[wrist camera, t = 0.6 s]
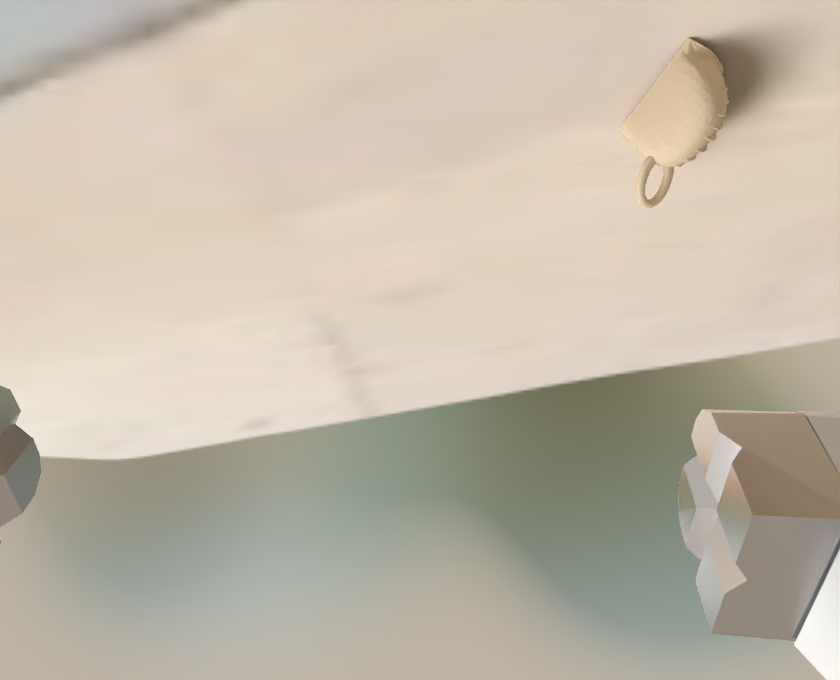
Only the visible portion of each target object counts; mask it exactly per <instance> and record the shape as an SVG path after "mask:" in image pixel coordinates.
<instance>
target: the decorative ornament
mask: <svg viewBox="0 0 840 680" xmlns="http://www.w3.org/2000/svg"><path fill="white" fill-rule="evenodd" d="M723 72H724V67H723V65H722V64H721V63H720V61H719V59H718V57H717V56H716V55H715V54H714V53H713V52H712V51H711V50H710V49H708V48H706V47H705V46H703V45H702V44H700V43H698V42H697V41H695V40H692V39H690V38H688V39H687V40H686V41H685V43H684V44H683V45H682V47H681V48H680V49H679V51H678V52H677V53H676V55H675V56H674V57H673V59H672V60H671V62H670V63H669V64H668V66H667V67H666V69H665V70H664V71H663V73H662V74H661V76H660V77H659V78H658V80H657V81H656V83H655V84H654V85H653V87H652V88H651V90H650V91H649V92H648V94H647V95H646V96H645V97H644V99H643V100H642V101H641V103H640V104H639V105H638V106H637V108H636V109H635V110H634V111H633V112H632V114H631V115H630V116H629V117H628V118H627V119H626V121H625V122H624V123H623V124H622V125H621V127H620V129H619V133H620V134H621V135H622V136H623V137H625V138H626V139H628V140H629V141H630V142H632V143H633V144H635V146H636V148H637V149H638V150H639V151H640V152H641V153H642V154H643V155H644V156H645V157H646V160H645V161H644V163H643V165H642V167H641V169H640V172H639V175H638V179H637V185H636V195H637V199H638V202H639V203H640V205H641V206H643V207H645V208H652V207H654V206H656V205H657V204H658V203H660V201H661V200H662V199H663V198H664V196H665V195H666V193H667V191H668V189H669V187H670V184H671V181H672V178H673V173H674V166H679V167H680V166H682V165H683V164H684V163H685V162H687V161H692V160H694V159H695V158H696V155H697V154H698V153H699V152H704V151H706V149H707V144H708V142H709V141H712V140H715V139H716V134H715V133H716V132H717V130H718V129H721V128H722V121H723V118H724V117H726V116H727V112H726V108H727V104H729V100H728V98H727V91H728V89H727V88H726V85H725V82H724V80H725V79H724V76H723V75H722V74H723ZM655 164H657V165H659V166H662V167H663V178H662V182H661V185H660V187H659V190H658V191H657V193H656V195H655V196H654V197H653V198H652V199H650V200H647V198H646V196H645V185H646V181H647V178H648V175H649V173H650V171H651V169H652V168H653V166H654V165H655Z"/></svg>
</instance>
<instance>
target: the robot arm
mask: <svg viewBox="0 0 840 680" xmlns="http://www.w3.org/2000/svg"><path fill="white" fill-rule="evenodd" d="M20 412H21V410H20V408H19V406H18V404H17V402H16V400H15V398H14V396H13V394H12V392H11V390H10V389H7V388H5V387H2V386H0V527H1V526H2V525H4V524H6V523H7V522H9V521H11V520H12V519H14V518H15V517H17V516H19V515H20V514H22V513H23V512H24V510H25V509H26V507H27V505H28V504H29V503H30V501H31V500H32V498H33V497H34V495H35V493H36V489H37V485H38V481H39V478H40V474H41V465H40V455H39V452H38V449H37V447H36V444H35V442H34V440H33V438H32V437H30V436H29V435H28V434H27V433H25V432H24V431H23V430H22V429H21V428H19V427H18V426H17V425H16V424H15V423H16V421H17V419H18V416H19V414H20ZM691 438H692V441H693V444H694V447H695V450H696V453H697V456H695V457H694V458H693V459H691V460H690V461H689V462H688V463H686V464H685V465H684V466H683V471H682V475H681V480H680V484H679V501H678V512H679V519H680V526H681V531H682V535H683V539H684V542H685V546H686V548H688V549H689V550H690V551H691V552H692V553H693V554H694V555H695V556H697V557H698V558H699V559H700V560H701V563H700V566H699V569H698V573H697V576H696V580H695V581H696V584H697V588H698V591H699V594H700V598H701V601H702V604H703V608H704V611H705V615H706V618H707V622H708V625H709V628H710V632H711V634H721V635H732V636H733V635H734V636H744V637H756V638H767V639H779V640H790V641H796V642H795V644H794V645H795V646H796V647H797V648H798V649H799V651H800V652H801V653H802V654H803V655H804V656H805V657H806V658H807V659H808V660H809V661H810V662H811V663H812V664H813V666H814V667H815V668H816V669H817V670H818V671H819V672H820V673H821V674H822V675H823V676H824V677H825V679H826V680H840V412H831V411H829V412H826V411H825V412H824V411H796V412H795V413H794V412H771V411H737V410H704V409H703V410H702V411H701V412H700V414H699V415H698V417H697V418H696V421H695V424H694V428H693V432H692V435H691ZM0 543H1V535H0Z"/></svg>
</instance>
